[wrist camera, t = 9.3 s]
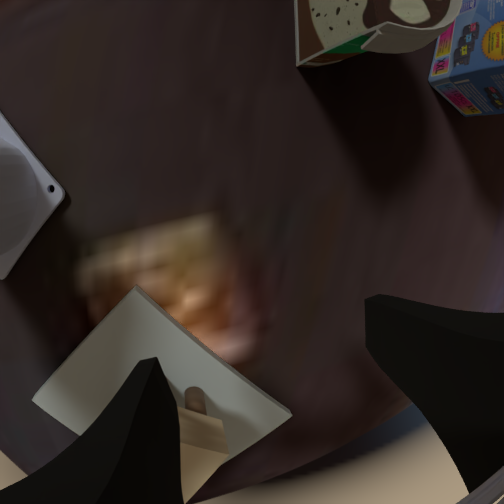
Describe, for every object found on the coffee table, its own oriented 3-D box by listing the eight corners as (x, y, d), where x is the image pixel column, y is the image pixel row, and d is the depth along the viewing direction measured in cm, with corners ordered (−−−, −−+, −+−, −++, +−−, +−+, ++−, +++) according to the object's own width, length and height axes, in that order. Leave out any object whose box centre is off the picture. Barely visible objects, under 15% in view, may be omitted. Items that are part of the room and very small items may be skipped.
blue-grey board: (34, 394, 19) (31, 400, 19) (136, 284, 19) (134, 289, 18) (178, 483, 24) (178, 489, 24) (289, 409, 24) (292, 415, 24)
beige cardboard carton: (112, 438, 21) (104, 500, 15) (149, 362, 20) (143, 430, 14) (168, 456, 22) (171, 517, 16) (215, 387, 21) (229, 454, 15)
